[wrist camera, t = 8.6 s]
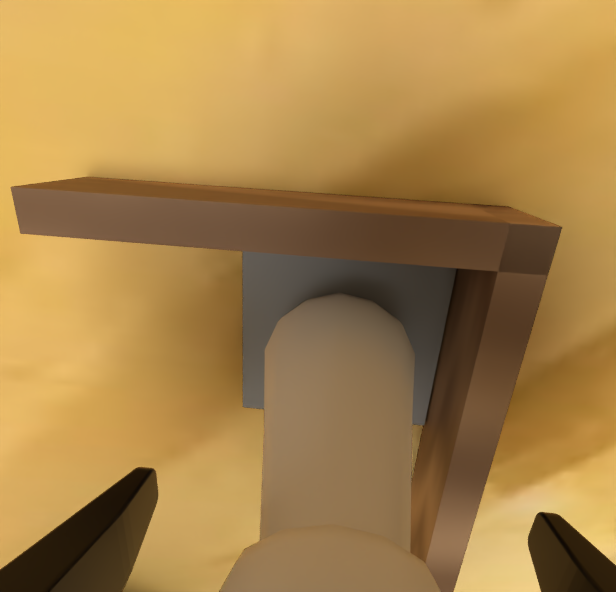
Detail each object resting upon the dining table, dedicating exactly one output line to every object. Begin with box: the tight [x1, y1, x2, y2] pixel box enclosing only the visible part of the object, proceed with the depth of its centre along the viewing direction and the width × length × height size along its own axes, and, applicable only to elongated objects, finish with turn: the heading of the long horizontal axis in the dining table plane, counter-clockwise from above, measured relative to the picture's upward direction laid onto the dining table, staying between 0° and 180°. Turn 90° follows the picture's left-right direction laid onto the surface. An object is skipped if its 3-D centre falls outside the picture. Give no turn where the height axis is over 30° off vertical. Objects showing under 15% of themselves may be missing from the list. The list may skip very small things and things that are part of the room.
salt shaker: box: [219, 293, 441, 592], centre depth 11 cm, size 6×6×13 cm
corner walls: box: [11, 177, 562, 592], centre depth 17 cm, size 19×17×4 cm
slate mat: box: [243, 251, 457, 425], centre depth 18 cm, size 9×9×1 cm
